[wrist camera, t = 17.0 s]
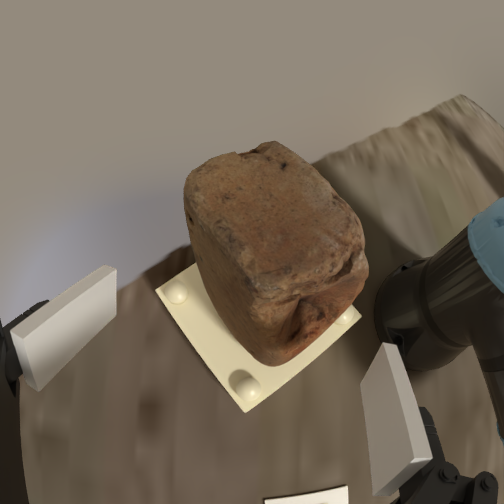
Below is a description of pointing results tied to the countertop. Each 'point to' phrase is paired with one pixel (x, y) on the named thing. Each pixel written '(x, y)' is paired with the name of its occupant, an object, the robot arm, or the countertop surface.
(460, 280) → the robot arm
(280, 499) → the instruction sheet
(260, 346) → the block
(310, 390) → the countertop surface
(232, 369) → the cream knobbed square piece
